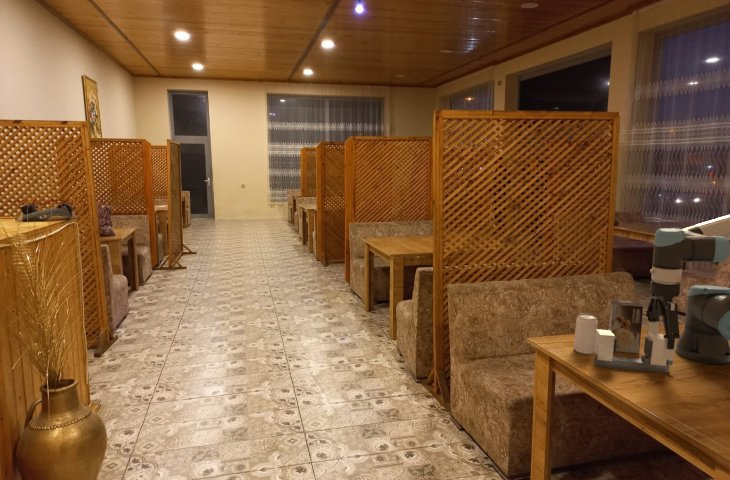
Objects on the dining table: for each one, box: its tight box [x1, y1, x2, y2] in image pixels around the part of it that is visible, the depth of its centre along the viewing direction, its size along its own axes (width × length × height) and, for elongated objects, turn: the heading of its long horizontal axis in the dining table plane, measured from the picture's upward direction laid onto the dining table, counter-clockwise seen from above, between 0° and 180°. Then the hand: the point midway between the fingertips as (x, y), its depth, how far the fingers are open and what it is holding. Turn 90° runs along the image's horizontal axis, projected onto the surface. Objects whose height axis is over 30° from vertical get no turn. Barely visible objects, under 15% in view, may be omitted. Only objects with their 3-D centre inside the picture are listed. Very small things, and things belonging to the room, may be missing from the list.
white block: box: [643, 333, 666, 366], centre depth 151 cm, size 5×5×8 cm
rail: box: [593, 328, 674, 374], centre depth 153 cm, size 21×5×10 cm, turn 78°
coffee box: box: [608, 299, 644, 354], centre depth 167 cm, size 9×6×16 cm
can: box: [573, 313, 599, 355], centre depth 165 cm, size 6×6×12 cm
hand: (659, 350), depth 151 cm, fingers open, 13 cm apart
